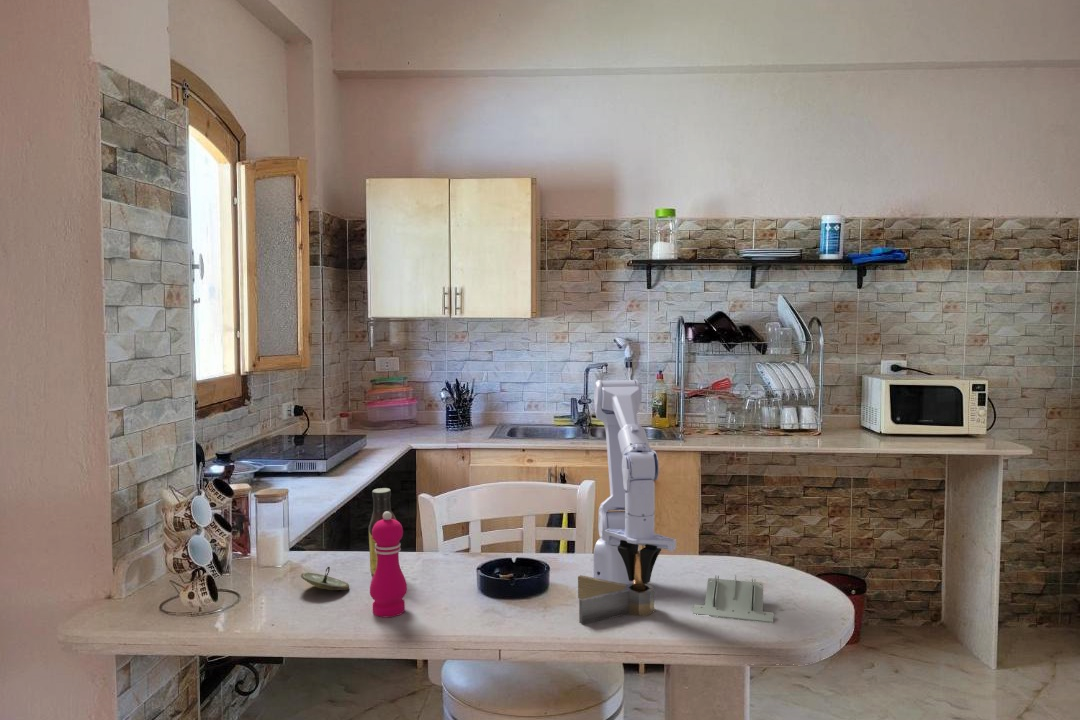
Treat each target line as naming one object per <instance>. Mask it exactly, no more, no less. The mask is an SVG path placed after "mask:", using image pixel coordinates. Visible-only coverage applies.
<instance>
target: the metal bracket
mask: <svg viewBox="0 0 1080 720" xmlns="http://www.w3.org/2000/svg"><path fill="white" fill-rule="evenodd" d="M714 575H715V574H714ZM706 585H707V586H706V590H705V591H706V592H705V599H704V604H702V605H700V604H694V605H693V609H692V615H693V614H696V615H697V614H698V615H709V616H718V617H717V618H719V617H722V618H721V619H728V618H733V619H732V620H738V619H739V620H740V621H748V620H750V621H749V622H754V621H756V622H755V623H761V622H766V623H765V624H774V613H773V612H770V611H763V608H764V583H763V582H756V578H751V581H747V580H746V581H744V580H737V575H736V574H735V575H734V580H733V579H723V578H720V575H715V576H714V577H713V578H712V577H709V578H707V583H706ZM723 617H724V618H723ZM757 621H758V622H757Z"/></svg>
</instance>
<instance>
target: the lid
mask: <svg viewBox="0 0 1080 720" xmlns="http://www.w3.org/2000/svg"><path fill="white" fill-rule="evenodd" d="M330 568H331V567H330V566H327V568H326V569H325V573H324V574H319V573H312V572H303V573H301V574H300V577H301V579H303V580H304V581H305V582H307V583H308V584H310V585H312V586H314V587H315V588H318V589H323V590H327V591H340V590H341V591H346V590H347V591H348V590H349V589H350V585H349V583H348V582H345V581H344V580H341V579H337V578H335V577H331V576H328V575H329V574H330V570H331V569H330Z"/></svg>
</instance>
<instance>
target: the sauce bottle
mask: <svg viewBox="0 0 1080 720" xmlns="http://www.w3.org/2000/svg"><path fill="white" fill-rule="evenodd" d="M371 494H372V495H371V497H372V499H373V500H372V504H373V505H372V506H373V508H372V509H373V511H372V514H371V517H370V520H369V525H368V544H369V546H368V549H369V564H370V565H369V567H370V568H369V569H370V577H371V578H372V579H373V576H374V574H375V571H376V567H377V553H376V552H375V544H376V542H375V541H374V540H373V538H372V529H373V526H374V525H375V524H376V523H377V522H378V521H380V520H382V519H383V513H384V512H386V511H388V512H390V513H391V514H392V517H391V519H395V520H397V518H396V516H395V514H394V512H393V511H392V506H391V496H392V491H391V489H390V488H388V487H382V488H381V487H380V488H375V489H373V490H372V491H371ZM399 558H400V557H399V555H398V559H399ZM399 560H400V559H399ZM372 579H371V580H372Z"/></svg>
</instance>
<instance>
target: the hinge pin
mask: <svg viewBox="0 0 1080 720" xmlns="http://www.w3.org/2000/svg"><path fill="white" fill-rule="evenodd" d="M642 569H643V568H642V559H641V554H640V550H639V551H635V552H633V590H634V591H638V592H640V591H645V585H646V584H644V583H643V581H642Z"/></svg>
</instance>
